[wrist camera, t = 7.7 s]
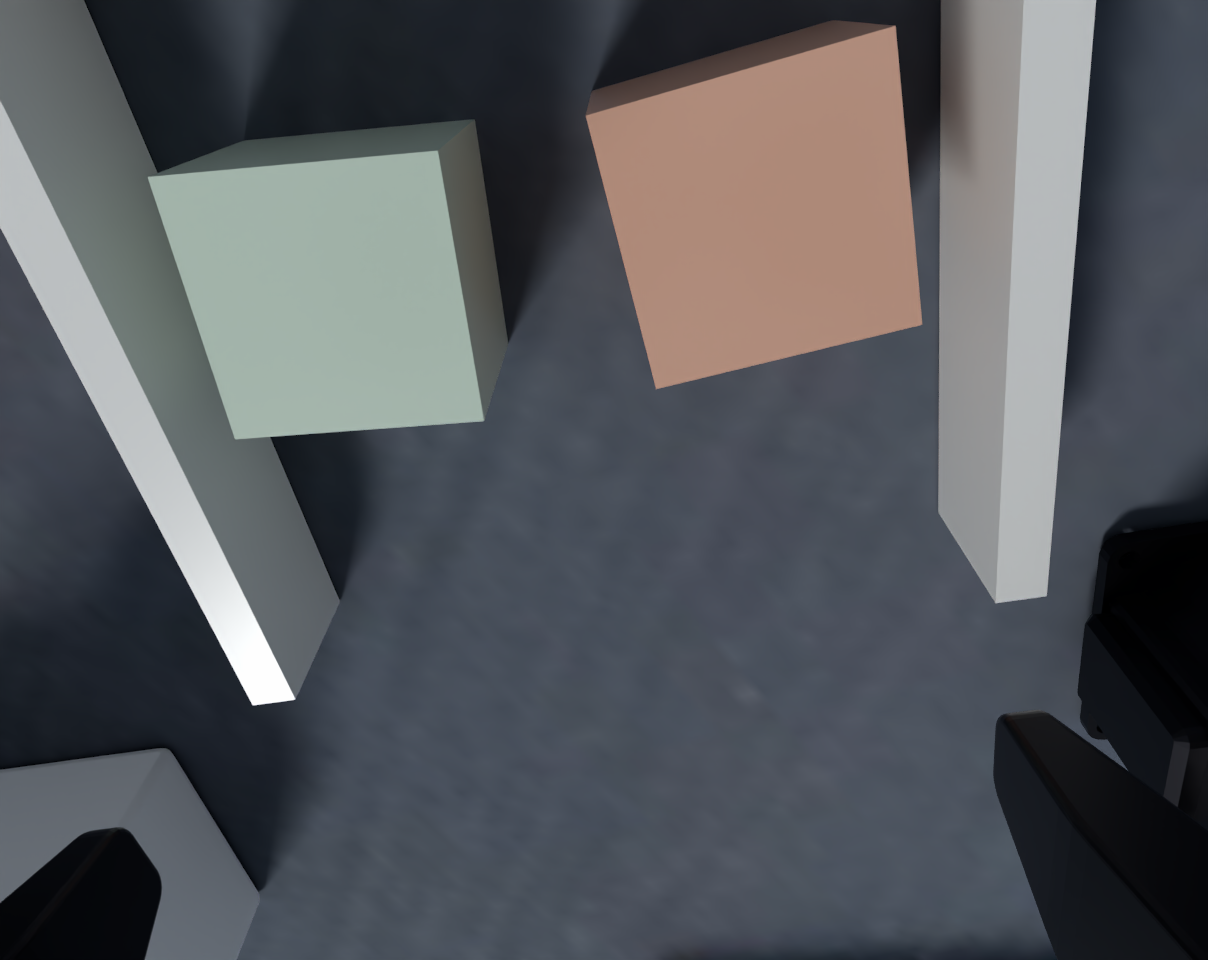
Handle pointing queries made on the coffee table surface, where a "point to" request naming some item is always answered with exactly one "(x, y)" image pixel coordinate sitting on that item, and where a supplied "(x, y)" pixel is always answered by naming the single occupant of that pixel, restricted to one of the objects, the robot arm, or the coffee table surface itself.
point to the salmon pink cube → (762, 199)
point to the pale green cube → (341, 277)
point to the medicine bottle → (160, 825)
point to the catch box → (251, 466)
